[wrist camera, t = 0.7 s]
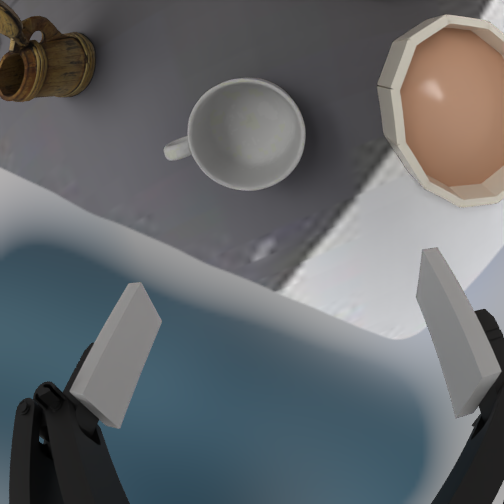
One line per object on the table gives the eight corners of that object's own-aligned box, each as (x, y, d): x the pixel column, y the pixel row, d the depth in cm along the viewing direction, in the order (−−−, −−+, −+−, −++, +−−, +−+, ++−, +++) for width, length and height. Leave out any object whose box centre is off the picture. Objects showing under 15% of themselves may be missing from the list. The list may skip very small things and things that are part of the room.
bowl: (362, 18, 24) (373, 11, 20) (511, 32, 19) (534, 33, 15) (388, 197, 35) (400, 215, 31) (518, 184, 31) (537, 198, 26)
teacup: (301, 76, 29) (305, 77, 22) (301, 167, 35) (304, 194, 28) (177, 83, 31) (148, 88, 24) (186, 169, 37) (163, 195, 30)
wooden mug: (119, 8, 25) (12, -6, 10) (84, 104, 32) (-20, 145, 17) (70, 0, 24) (-35, -4, 9) (41, 88, 31) (-59, 123, 16)
